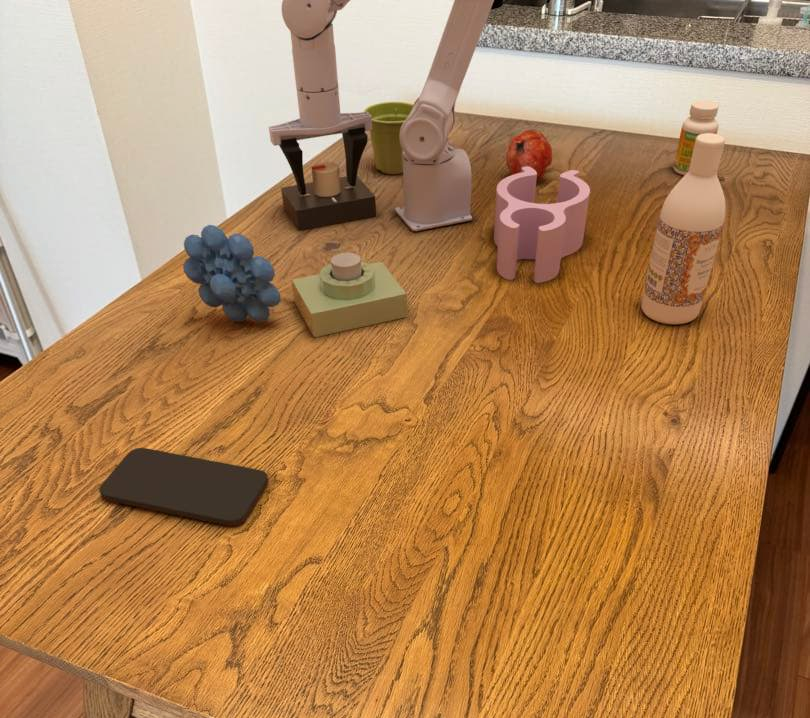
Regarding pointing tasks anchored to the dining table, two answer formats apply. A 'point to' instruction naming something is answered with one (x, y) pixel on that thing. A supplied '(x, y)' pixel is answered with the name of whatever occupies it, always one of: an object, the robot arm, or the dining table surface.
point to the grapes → (230, 274)
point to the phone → (185, 486)
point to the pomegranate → (529, 153)
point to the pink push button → (346, 267)
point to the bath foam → (687, 238)
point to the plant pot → (388, 134)
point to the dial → (326, 179)
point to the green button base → (349, 299)
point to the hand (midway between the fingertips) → (327, 188)
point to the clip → (538, 223)
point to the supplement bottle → (694, 132)
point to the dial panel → (328, 205)
